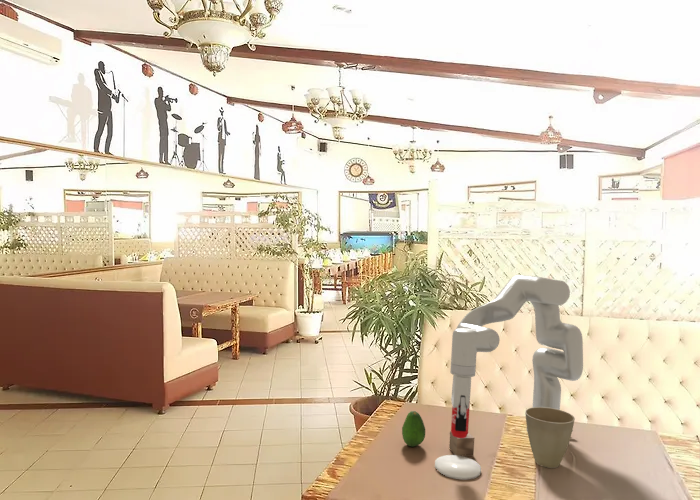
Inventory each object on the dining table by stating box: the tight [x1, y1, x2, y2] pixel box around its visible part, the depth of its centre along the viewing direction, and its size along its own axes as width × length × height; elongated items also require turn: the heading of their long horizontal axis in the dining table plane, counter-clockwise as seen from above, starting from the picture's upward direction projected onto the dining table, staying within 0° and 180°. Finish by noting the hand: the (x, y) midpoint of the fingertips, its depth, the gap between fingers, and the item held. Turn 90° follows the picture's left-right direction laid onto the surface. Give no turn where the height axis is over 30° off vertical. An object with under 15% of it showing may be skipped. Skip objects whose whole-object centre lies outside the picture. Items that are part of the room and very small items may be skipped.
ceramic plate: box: [434, 454, 482, 481], centre depth 165 cm, size 14×14×1 cm
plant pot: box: [524, 406, 576, 469], centre depth 172 cm, size 15×15×16 cm
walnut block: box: [448, 430, 475, 457], centre depth 178 cm, size 6×6×6 cm
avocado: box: [401, 410, 426, 447], centre depth 181 cm, size 8×8×12 cm
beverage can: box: [450, 402, 471, 438], centre depth 164 cm, size 5×5×12 cm
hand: (459, 426), depth 164 cm, fingers closed on beverage can, 5 cm apart
